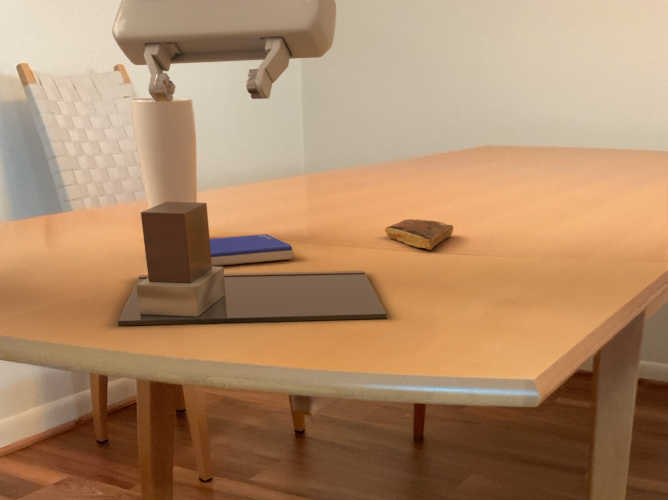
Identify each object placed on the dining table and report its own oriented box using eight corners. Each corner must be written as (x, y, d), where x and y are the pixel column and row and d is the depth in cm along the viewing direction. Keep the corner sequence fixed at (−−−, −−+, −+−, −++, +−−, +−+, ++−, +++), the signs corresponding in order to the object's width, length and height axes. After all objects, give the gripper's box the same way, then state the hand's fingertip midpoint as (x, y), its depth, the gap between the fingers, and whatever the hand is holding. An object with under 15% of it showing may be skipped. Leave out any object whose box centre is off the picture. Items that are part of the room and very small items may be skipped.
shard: (430, 252, 103) (430, 236, 102) (366, 248, 105) (366, 231, 104) (455, 237, 112) (456, 221, 111) (396, 232, 114) (396, 217, 113)
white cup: (136, 238, 109) (119, 98, 102) (186, 232, 113) (173, 97, 106) (164, 246, 104) (149, 101, 97) (216, 240, 108) (204, 99, 101)
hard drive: (265, 233, 104) (156, 241, 99) (292, 245, 98) (178, 254, 92) (265, 247, 105) (158, 256, 99) (293, 260, 98) (179, 270, 93)
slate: (118, 325, 74) (117, 319, 74) (139, 280, 89) (139, 275, 89) (386, 318, 77) (386, 312, 77) (364, 275, 92) (364, 270, 92)
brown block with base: (198, 317, 75) (188, 215, 72) (139, 314, 76) (127, 213, 72) (225, 294, 82) (218, 201, 79) (171, 292, 83) (161, 199, 79)
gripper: (116, -61, 82) (83, 75, 80) (330, -79, 77) (302, 66, 74) (152, -6, 88) (122, 122, 86) (352, -19, 83) (327, 116, 80)
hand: (207, 96), depth 80 cm, fingers open, 8 cm apart
